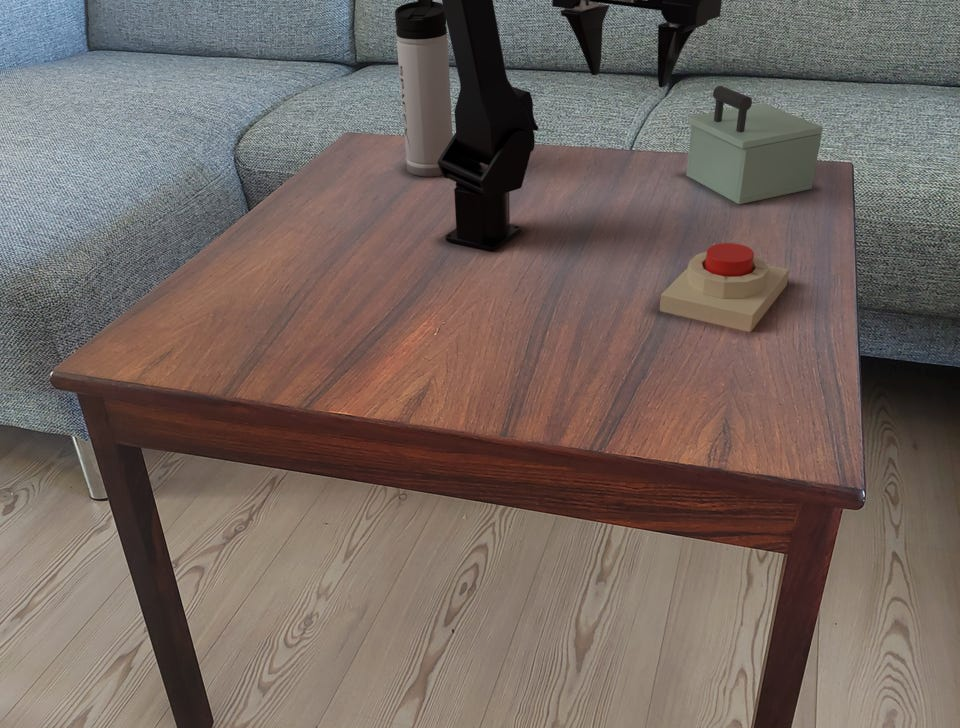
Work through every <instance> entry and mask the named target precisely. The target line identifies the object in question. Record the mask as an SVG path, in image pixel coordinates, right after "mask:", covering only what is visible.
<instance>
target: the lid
mask: <svg viewBox="0 0 960 728" xmlns="http://www.w3.org/2000/svg"><path fill="white" fill-rule="evenodd" d="M712 96H713V99H714V100H715V105H714V111H713V112H707V113H701V114H694V115H690V116H688V117H687V124H688V125H690V126H691V125H693V126H695V127H697V128H699V129H702V130H704V131H706V132H708V133H710V134H712V135H714V136H716V137H718V138H721V139H723V140H725V141H727V142H729V143H731V144H733V145H735V146H737V147H740V148H742V149H744V148H749V147H755V146H760V145H765V144H770V143H775V142H780V141H786V140H791V139H796V138H801V137H806V136H811V135H817V134H822V133H823V129H824V126H822V125H819V124H817V123H814V122H812V121H809V120H806V119H804V118H801V117H800V116H797V115H794V114H791V113H790V112H786V111H784V110H782V109H779V108H777V107H776V106H775V107H774V106H772V105H769V104H767V103H764V102H763V103H757V104H753V99H752V98H751V97H750V96H748V95H745V94H743V93H741V92H739V91H736V90H734V89H731V88H728V87H725V86H723V85H717V86H716V87H715V88H714V89H713V91H712ZM724 104H726V105H728V106H730V107H732V108H729V109H724V106H725V105H724ZM752 104H753V105H752Z"/></svg>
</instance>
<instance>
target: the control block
mask: <svg viewBox="0 0 960 728" xmlns="http://www.w3.org/2000/svg"><path fill="white" fill-rule="evenodd" d="M706 254H707V251H702V252H700V253H697V254H695V255H694V256H693V257H692V258H691V259H690V261H689V262H688V266H687V268H685V270H683V272H682V273H680V275H679V276H678V277H676V279H674V281H673V282H672V283H671V284H670V285H668V287H667V288H666V289H665V290H664V291H663V292H662V293H661V294H660V301H659V302H660V303H659V312H662V313H667V314H670V315H674V316H675V315H676V316H679V317H684V318H688V319H691V320H692V319H693V320H695V321H696V320H697V321H701V322H705V323H708V324H709V323H710V324H713V325H717V326H722V327H725V328H730V329H734V330H737V331H738V330H739V331H742V332H743V331H744V332H748V333H751V332H752V331H753V330H754V328H755V327H756V326H757V324H758V323H759V322H760V321H761V320H762V318H763V317H764V315H765V314H766V313H767V311H768V310H769V309H770V307H771V306H772V305H773V303H774V302H775V301H776V300H777V298H778V297H779V296H780V295H781V293H783V291H784V289H785V288H786V287H787V284H788V280H789V273H790V269H789V268H785V267H779V266H775V265H770V264H767V262H766V261H765V259H763V258H761V257H759V256H757V255H755V254H754V259H753V266H752V271H751V273H750V274H747V275H744V276H740V277H725V276H720V275H715V274H712V273H710V272H709V271H707V270H705V262H706Z"/></svg>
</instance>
